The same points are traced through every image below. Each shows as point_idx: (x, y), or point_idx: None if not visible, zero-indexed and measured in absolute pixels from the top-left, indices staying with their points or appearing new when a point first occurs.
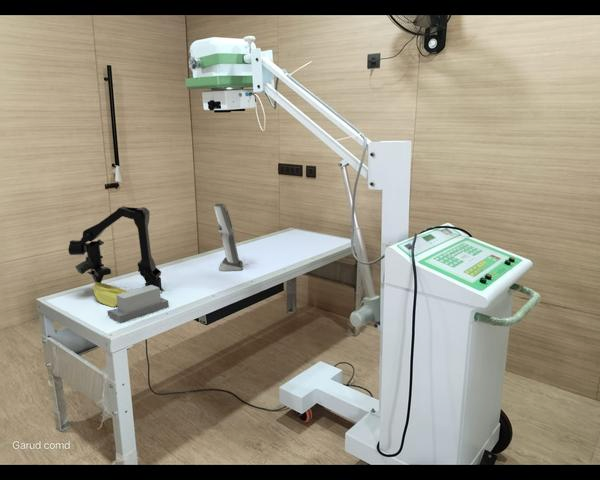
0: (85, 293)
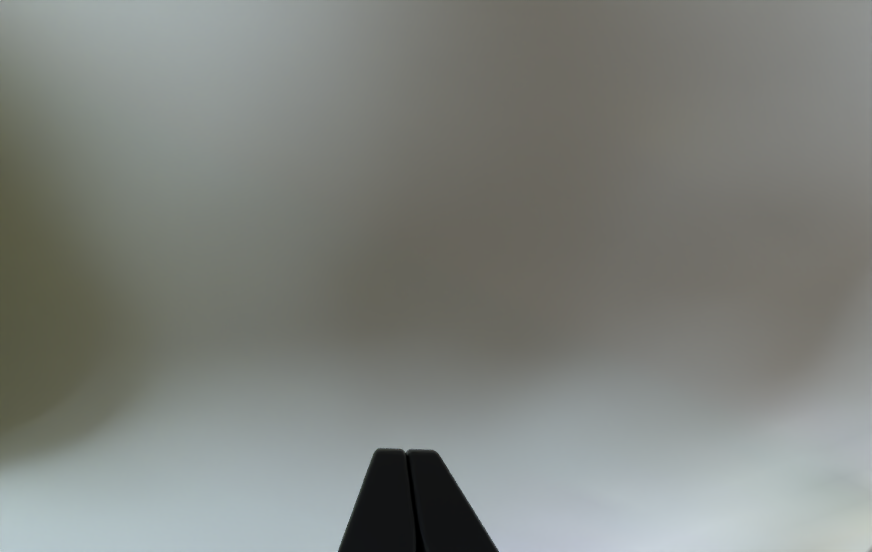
0: (720, 92)
